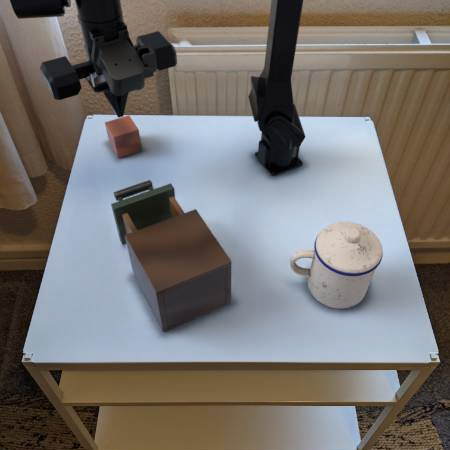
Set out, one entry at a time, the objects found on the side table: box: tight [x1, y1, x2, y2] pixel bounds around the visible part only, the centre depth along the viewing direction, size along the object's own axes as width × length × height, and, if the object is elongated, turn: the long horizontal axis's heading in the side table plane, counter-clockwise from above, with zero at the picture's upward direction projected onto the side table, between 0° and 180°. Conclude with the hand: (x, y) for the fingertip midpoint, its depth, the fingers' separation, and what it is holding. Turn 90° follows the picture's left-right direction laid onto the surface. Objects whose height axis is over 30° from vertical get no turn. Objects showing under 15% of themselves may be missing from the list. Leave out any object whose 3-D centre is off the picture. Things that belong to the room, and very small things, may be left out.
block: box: [104, 115, 143, 159], centre depth 90 cm, size 5×5×5 cm
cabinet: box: [125, 208, 233, 333], centre depth 70 cm, size 11×11×10 cm
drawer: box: [110, 179, 185, 246], centre depth 75 cm, size 14×9×8 cm, turn 28°
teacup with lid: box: [289, 221, 384, 310], centre depth 70 cm, size 12×9×12 cm
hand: (119, 115), depth 79 cm, fingers closed
